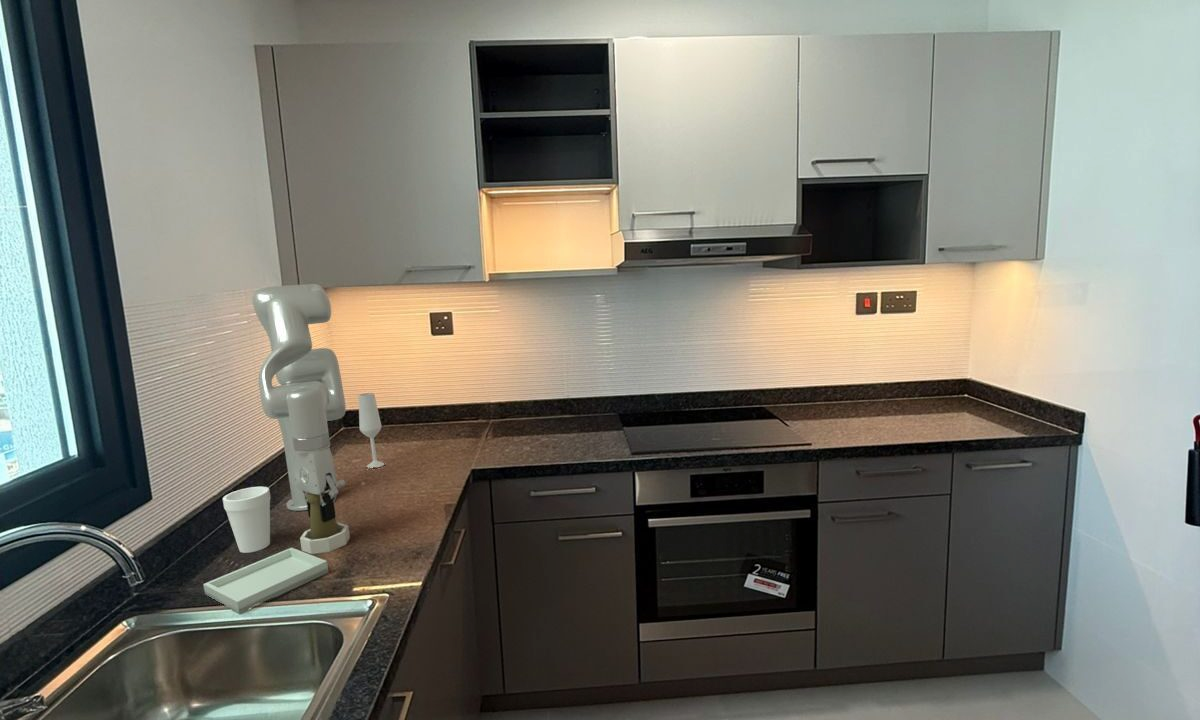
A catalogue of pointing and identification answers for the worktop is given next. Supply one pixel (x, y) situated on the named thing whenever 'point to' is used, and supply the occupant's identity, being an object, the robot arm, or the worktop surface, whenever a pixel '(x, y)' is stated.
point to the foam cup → (249, 517)
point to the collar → (325, 541)
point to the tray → (265, 579)
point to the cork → (319, 519)
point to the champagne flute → (369, 422)
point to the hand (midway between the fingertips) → (322, 517)
